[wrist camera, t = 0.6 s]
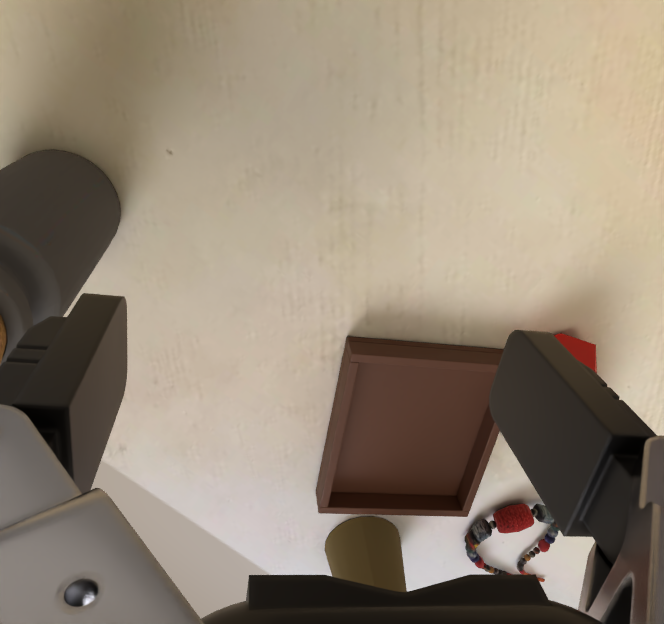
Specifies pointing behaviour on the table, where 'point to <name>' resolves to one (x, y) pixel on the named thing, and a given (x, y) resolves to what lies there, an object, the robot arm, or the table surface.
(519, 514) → the necklace
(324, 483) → the tray
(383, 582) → the pepper shaker
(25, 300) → the bottle
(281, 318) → the table surface
